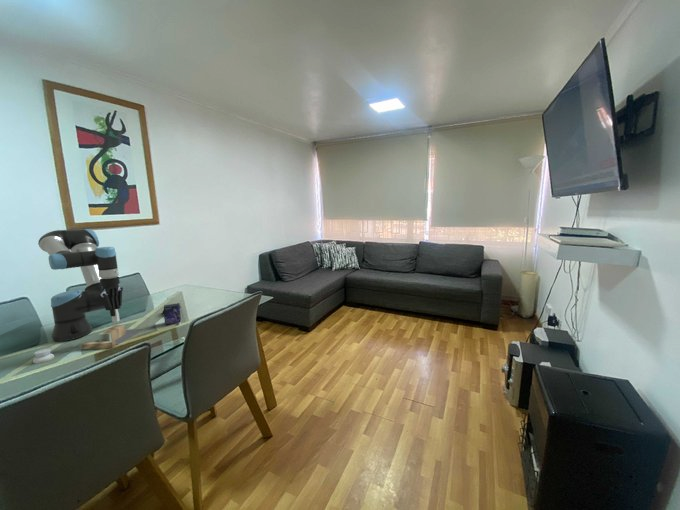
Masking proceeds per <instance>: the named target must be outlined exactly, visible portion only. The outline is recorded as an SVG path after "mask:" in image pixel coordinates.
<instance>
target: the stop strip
mask: <svg viewBox="0 0 680 510" xmlns="http://www.w3.org/2000/svg"><path fill="white" fill-rule="evenodd" d="M80 346H81V350H96V349H98V350H99V349H114V348H115V347H116V346H117V345H116V343H115V341H105V342H95V341H91V342H89V341H88V342H86V341H85V342H84V343H81V344H80Z"/></svg>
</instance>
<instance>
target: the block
mask: <svg viewBox="0 0 680 510" xmlns="http://www.w3.org/2000/svg"><path fill="white" fill-rule="evenodd" d="M126 330H127V329H126V325H125V324H119V325H118V324H117V325H113V326H111V327H110V328H107V329H106V330H104V331H102V332H100V333H98V334H97V336H98V340H99V342H105V341H115V340H117V339H118V338H120V337H122V336H123V335H125V334H126Z"/></svg>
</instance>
